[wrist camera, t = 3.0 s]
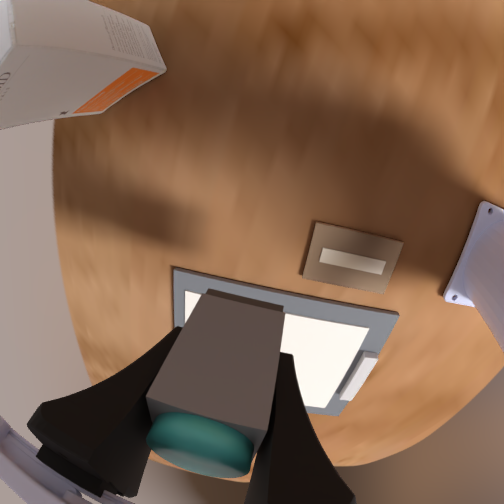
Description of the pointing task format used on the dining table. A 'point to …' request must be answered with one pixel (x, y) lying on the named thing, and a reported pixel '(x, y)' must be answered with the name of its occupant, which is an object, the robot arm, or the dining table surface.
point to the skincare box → (69, 59)
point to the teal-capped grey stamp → (217, 386)
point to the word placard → (351, 258)
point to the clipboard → (307, 336)
